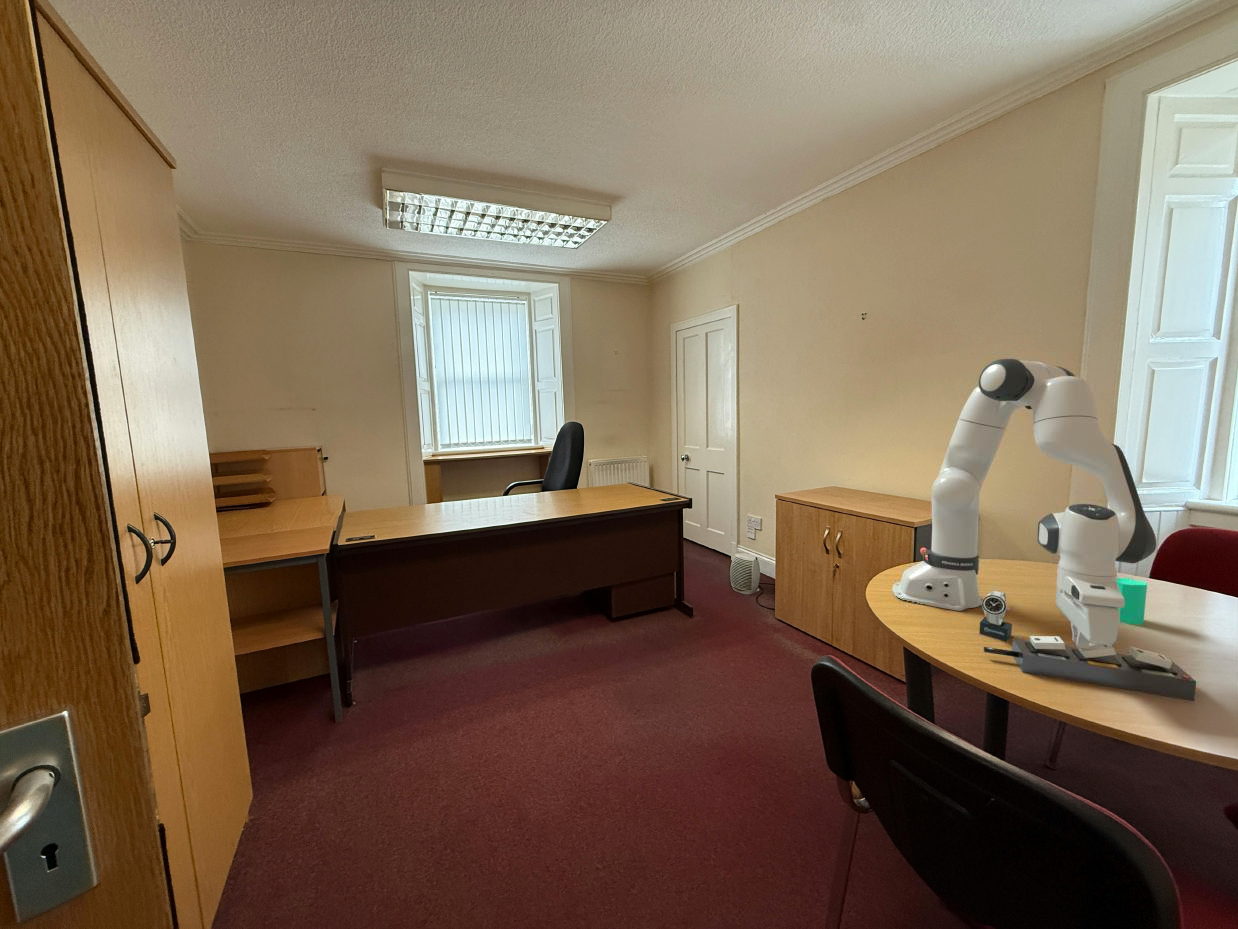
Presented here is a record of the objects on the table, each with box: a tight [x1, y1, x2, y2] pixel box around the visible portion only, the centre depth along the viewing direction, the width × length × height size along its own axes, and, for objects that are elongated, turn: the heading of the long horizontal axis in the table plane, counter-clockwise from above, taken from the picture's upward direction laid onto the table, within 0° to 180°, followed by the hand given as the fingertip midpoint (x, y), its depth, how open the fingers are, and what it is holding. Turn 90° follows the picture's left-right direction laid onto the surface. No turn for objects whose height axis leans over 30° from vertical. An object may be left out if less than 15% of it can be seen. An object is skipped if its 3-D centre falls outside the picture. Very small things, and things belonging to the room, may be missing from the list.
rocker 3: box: [1128, 645, 1172, 669], centre depth 97 cm, size 5×3×2 cm, turn 63°
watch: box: [978, 590, 1013, 642], centre depth 119 cm, size 6×8×11 cm
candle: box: [1116, 574, 1148, 626], centre depth 124 cm, size 6×6×12 cm
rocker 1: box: [1029, 635, 1066, 649], centre depth 104 cm, size 5×3×2 cm, turn 63°
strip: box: [983, 637, 1197, 702], centre depth 102 cm, size 32×8×4 cm, turn 63°
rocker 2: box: [1076, 642, 1117, 658], centre depth 100 cm, size 5×3×2 cm, turn 63°
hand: (1080, 645), depth 101 cm, fingers closed
